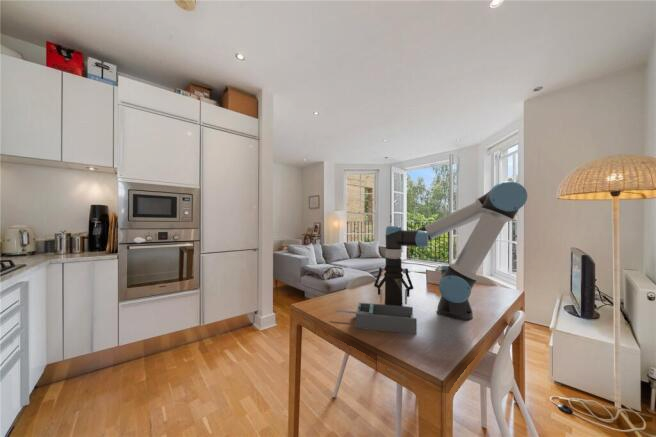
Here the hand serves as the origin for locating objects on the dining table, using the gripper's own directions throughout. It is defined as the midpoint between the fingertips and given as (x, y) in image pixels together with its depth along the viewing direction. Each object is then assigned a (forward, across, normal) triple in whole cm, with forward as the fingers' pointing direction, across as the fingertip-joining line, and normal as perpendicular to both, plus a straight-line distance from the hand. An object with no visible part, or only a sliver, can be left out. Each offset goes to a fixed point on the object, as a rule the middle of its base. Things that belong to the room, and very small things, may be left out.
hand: (393, 302), depth 116 cm
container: (+5, 0, 0) cm, 5 cm away
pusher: (+4, +17, +14) cm, 23 cm away
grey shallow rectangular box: (+5, +4, +14) cm, 15 cm away
